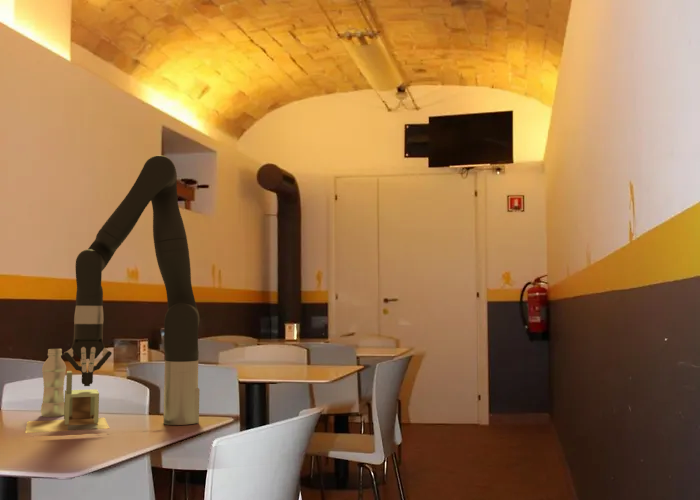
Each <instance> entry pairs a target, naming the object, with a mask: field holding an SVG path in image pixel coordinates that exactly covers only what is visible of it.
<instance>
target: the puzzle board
mask: <svg viewBox="0 0 700 500" xmlns="http://www.w3.org/2000/svg"><path fill="white" fill-rule="evenodd" d="M105 429H107V430H108V429H110V426H109V424H108V422H107V419H106V418H105V417H98V423H94V415H90V419H74V420H72V416H69V424H67V425H65V419H55V420H53V419H50V420H33V421H32V420H31V421H27V422H26V427H25V434H31V433H32V434H33V433H34V434H35V433H36V434H37V433H49V432H50V433H53V432H54V433H55V432H68V431H84V430H86V431H88V430H89V431H90V430H91V431H92V430H105ZM68 435H70V434H67V436H68ZM49 436H52V435H49ZM31 437H33V438H34V435H33V436H31Z"/></svg>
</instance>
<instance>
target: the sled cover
mask: <svg viewBox="0 0 700 500" xmlns="http://www.w3.org/2000/svg"><path fill="white" fill-rule="evenodd" d="M65 381H66V383H65V384H66V385H65V390H64V402H65V403H64V415H63V420H65V425H67V424H69V416H72V399H73V397H91V405H90V415H94V423H98V418H100V416H99V415H100V414H99V413H100V410H99V409H100V392H99V390H98V389H97V388H95V389H93V388H92V389H73V371H72V370H67V371H66V380H65Z"/></svg>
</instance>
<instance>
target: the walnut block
mask: <svg viewBox="0 0 700 500" xmlns="http://www.w3.org/2000/svg"><path fill="white" fill-rule="evenodd" d="M90 405H91V397H73V399H72V420H74V419H90Z"/></svg>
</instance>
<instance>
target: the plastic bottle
mask: <svg viewBox="0 0 700 500" xmlns="http://www.w3.org/2000/svg"><path fill="white" fill-rule="evenodd" d="M62 352H63V349H62V348H49V349H47V357H48V358H47V359H46V360H45V361H44V363H43V364H42V367H41V369H42V377H43V396H42V403H41V408H40V413H41V417H44V418H55V417H56V418H58V417H64V403H65V390H64V389H65V388H64V385H65V378H66V374H67V371H66V370H67V366H66V363H65V361H64V360H63V358H62V356H63V353H62Z"/></svg>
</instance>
